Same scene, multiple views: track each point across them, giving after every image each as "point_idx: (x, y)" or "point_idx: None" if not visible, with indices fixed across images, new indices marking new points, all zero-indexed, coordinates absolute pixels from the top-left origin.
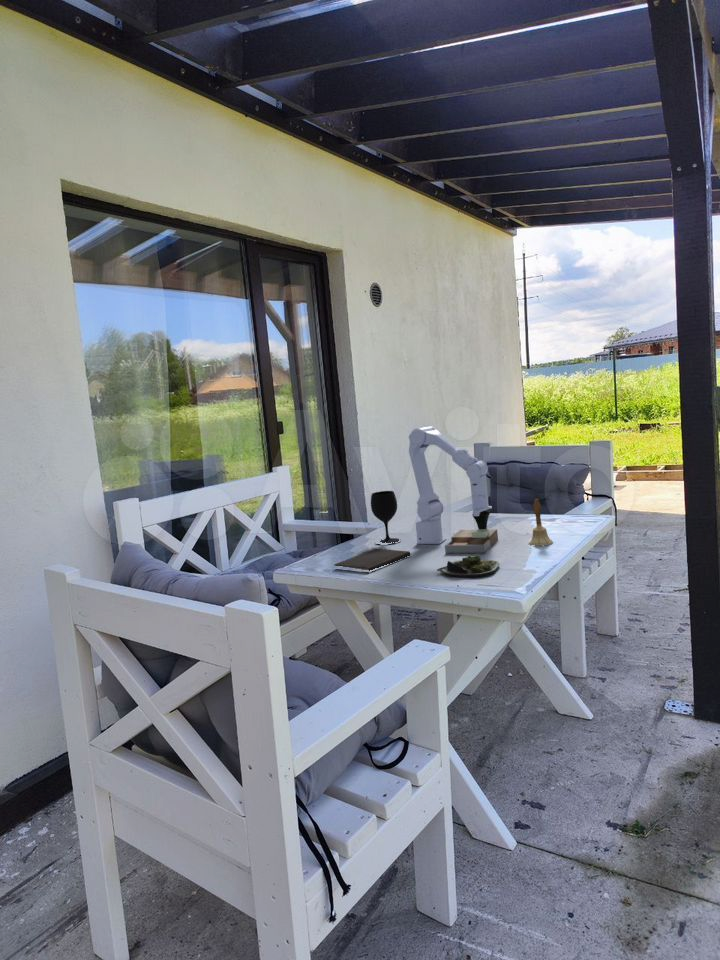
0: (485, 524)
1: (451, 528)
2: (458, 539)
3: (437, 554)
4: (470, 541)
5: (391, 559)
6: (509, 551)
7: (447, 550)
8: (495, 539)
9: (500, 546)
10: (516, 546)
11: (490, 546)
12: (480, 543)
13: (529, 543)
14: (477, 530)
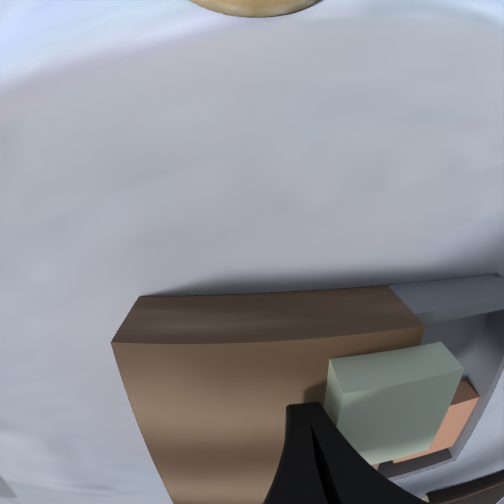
0: (353, 449)
1: (24, 482)
2: None
3: None
4: None
5: (486, 486)
6: (475, 132)
7: None
8: (214, 305)
9: (351, 223)
10: (353, 95)
11: (383, 289)
12: None
13: (298, 4)
14: (384, 445)
